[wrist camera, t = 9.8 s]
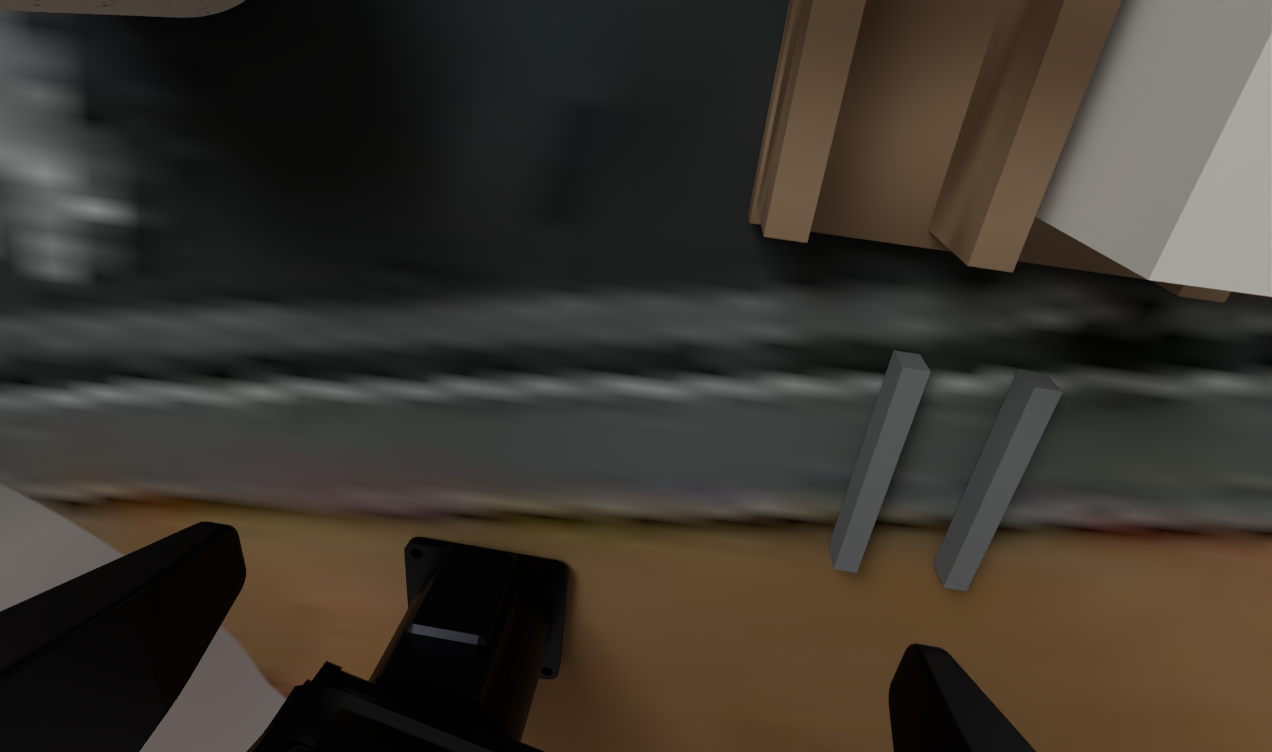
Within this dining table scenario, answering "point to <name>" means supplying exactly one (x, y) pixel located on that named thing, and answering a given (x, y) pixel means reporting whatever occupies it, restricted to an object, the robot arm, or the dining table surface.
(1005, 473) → the rails
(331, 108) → the dining table surface
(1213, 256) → the upright white panel
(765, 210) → the rack
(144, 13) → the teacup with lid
